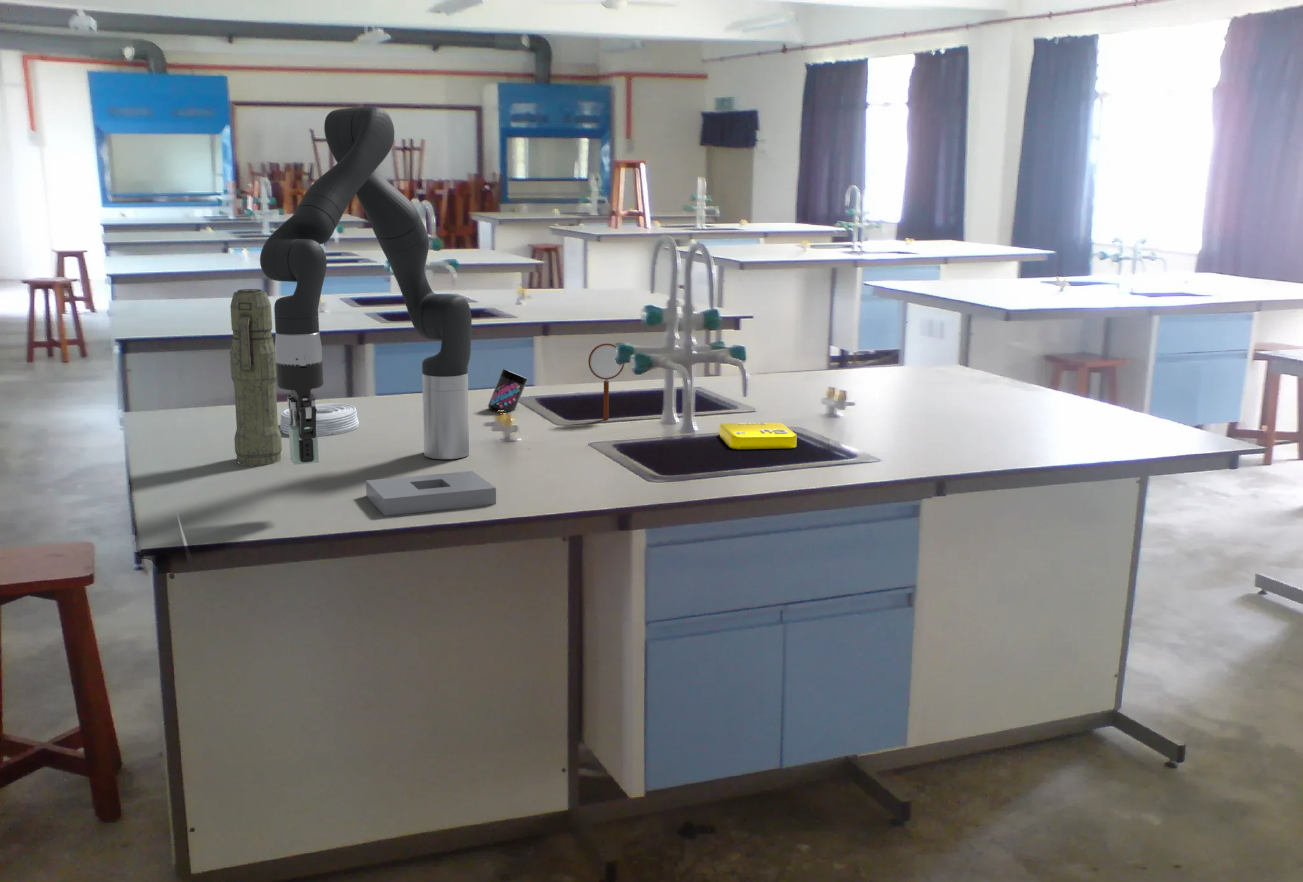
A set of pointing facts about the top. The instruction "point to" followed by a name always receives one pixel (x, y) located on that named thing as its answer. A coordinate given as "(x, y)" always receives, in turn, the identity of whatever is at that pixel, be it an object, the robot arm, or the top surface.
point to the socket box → (430, 492)
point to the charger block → (295, 446)
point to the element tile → (757, 435)
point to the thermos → (254, 379)
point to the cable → (328, 419)
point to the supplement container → (507, 391)
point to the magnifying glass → (604, 368)
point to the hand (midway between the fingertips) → (304, 458)
